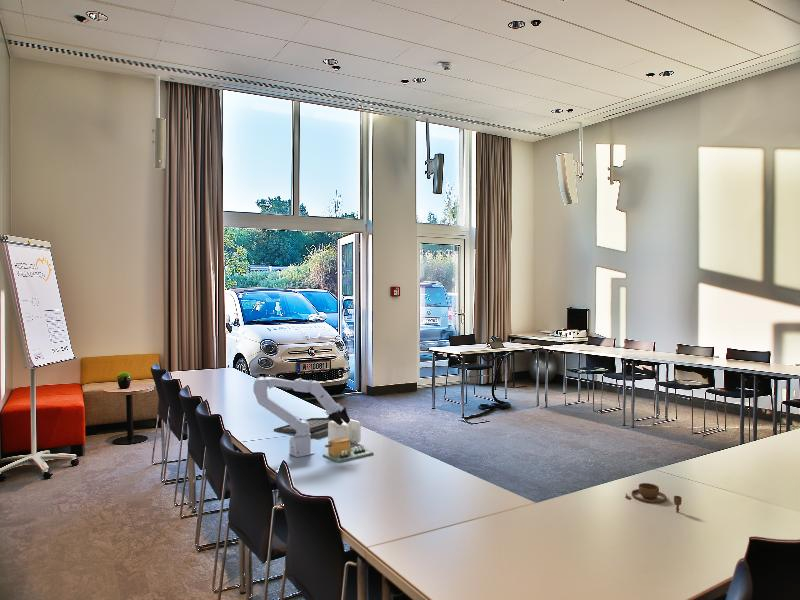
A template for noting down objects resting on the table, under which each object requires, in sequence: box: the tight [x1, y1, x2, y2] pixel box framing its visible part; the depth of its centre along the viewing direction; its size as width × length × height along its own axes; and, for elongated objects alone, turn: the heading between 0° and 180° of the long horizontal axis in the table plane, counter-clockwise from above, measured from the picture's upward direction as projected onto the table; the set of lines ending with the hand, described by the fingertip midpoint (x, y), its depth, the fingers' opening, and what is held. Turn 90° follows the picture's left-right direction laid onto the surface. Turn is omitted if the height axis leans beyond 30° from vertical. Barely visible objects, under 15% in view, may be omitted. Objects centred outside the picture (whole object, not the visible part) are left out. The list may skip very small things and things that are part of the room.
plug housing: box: [324, 438, 351, 456], centre depth 264 cm, size 12×5×6 cm, turn 130°
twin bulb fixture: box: [340, 450, 349, 458], centre depth 258 cm, size 4×1×3 cm, turn 130°
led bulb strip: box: [354, 444, 366, 454], centre depth 266 cm, size 6×1×3 cm, turn 130°
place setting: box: [624, 482, 683, 514], centre depth 206 cm, size 18×20×6 cm
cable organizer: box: [327, 418, 362, 445], centre depth 285 cm, size 15×11×12 cm
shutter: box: [273, 417, 333, 440], centre depth 316 cm, size 32×7×31 cm
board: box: [322, 446, 374, 463], centre depth 264 cm, size 20×13×1 cm, turn 130°
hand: (345, 423), depth 271 cm, fingers open, 7 cm apart
